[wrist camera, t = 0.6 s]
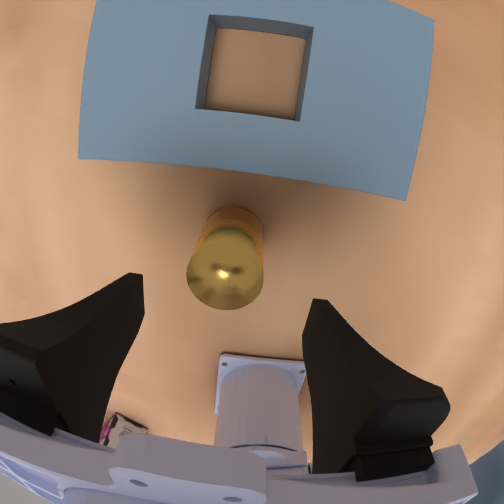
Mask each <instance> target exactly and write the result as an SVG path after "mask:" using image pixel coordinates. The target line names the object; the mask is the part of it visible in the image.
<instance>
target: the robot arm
mask: <svg viewBox="0 0 504 504" xmlns="http://www.w3.org/2000/svg"><path fill="white" fill-rule="evenodd" d="M144 314H145V310H144V293H143V275H142V274H136V273H128V274H126V275H124V276H122V277H120V278H119V279H117V280H115V281H114V282H112V283H111V284H109V285H107V286H106V287H104V288H102V289H101V290H99V291H97V292H95V293H94V294H92V295H90V296H88V297H86V298H84V299H83V300H81V301H79V302H77V303H75V304H72V305H70V306H68V307H65V308H63V309H61V310H58V311H55V312H52V313H49V314H46V315H43V316H40V317H36V318H32V319H27V320H23V321H17V322H10V323H2V324H0V472H1V473H3V474H4V475H6V476H7V477H9V478H10V479H12V480H13V481H15V482H17V483H18V484H20V485H22V486H23V487H25V488H27V489H28V490H30V491H32V492H33V493H35V494H37V495H39V496H41V497H42V498H44V499H46V500H48V501H50V502H52V503H54V504H464V503H465V502H467V501H468V500H470V499H471V498H473V497H474V496H476V495H477V494H478V490H477V487H476V484H475V482H474V479H473V476H472V473H471V470H470V468H469V465H468V462H467V460H466V457H465V455H464V452H463V450H462V447H461V445H459V444H458V445H454V446H450V447H446V448H442V449H439V450H436V451H435V452H433V453H432V452H431V449H430V446H432V445H433V440H432V437H431V435H432V434H433V433H434V432H435V431H436V430H437V429H438V427H439V426H440V425H441V424H442V423H443V422H444V420H445V419H446V418H447V416H448V414H449V412H450V403H449V401H448V399H447V397H446V395H445V393H444V391H443V389H442V388H441V387H439V386H436V385H434V384H432V383H429V382H427V381H425V380H422V379H420V378H418V377H416V376H414V375H413V374H411V373H409V372H407V371H405V370H404V369H402V368H400V367H399V366H397V365H396V364H394V363H393V362H391V361H390V360H388V359H387V358H385V357H384V356H383V355H382V354H380V353H379V352H378V351H377V350H375V349H374V348H373V347H372V346H371V345H369V344H368V343H367V342H366V341H365V340H364V339H363V338H362V337H361V336H360V335H359V334H358V333H357V332H356V331H355V330H354V329H353V328H352V327H351V326H350V325H349V324H348V323H347V321H346V320H345V319H344V318H343V317H342V316H341V315H340V314H339V312H338V311H337V310H336V309H335V308H334V307H333V306H332V305H331V303H330V302H329V301H328V300H323V299H315V298H313V301H312V304H311V308H310V311H309V315H308V318H307V321H306V325H305V328H304V331H303V334H302V346H303V358H304V361H291V360H279V359H268V358H258V357H249V356H240V355H232V354H221V355H220V358H219V368H218V378H217V389H216V399H215V410H214V413H215V414H216V415H217V422H216V430H215V439H214V446H212V445H205V444H199V443H192V442H186V441H181V440H175V439H170V438H165V437H160V436H156V435H151V434H144V433H135V432H133V433H130V434H126V435H123V436H120V438H119V441H118V444H117V447H116V449H114V448H111V447H108V446H105V445H101V444H99V439H100V434H101V429H102V425H103V421H104V417H105V413H106V409H107V405H108V402H109V398H110V395H111V392H112V389H113V386H114V383H115V380H116V377H117V375H118V372H119V370H120V368H121V366H122V364H123V362H124V360H125V358H126V356H127V354H128V352H129V350H130V348H131V346H132V344H133V342H134V340H135V338H136V336H137V334H138V332H139V329H140V326H141V323H142V320H143V317H144ZM223 362H226V363H223ZM306 375H307V380H308V385H309V391H310V396H311V404H312V421H313V462H311V463H308V467H307V455H306V452H305V451H303V443H302V432H301V422H300V411H299V401H298V395H299V393H300V390H301V388H302V385H303V383H304V380H305V377H306Z"/></svg>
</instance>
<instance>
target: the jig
mask: <svg viewBox="0 0 504 504" xmlns="http://www.w3.org/2000/svg"><path fill="white" fill-rule="evenodd" d="M216 28H228V29H241V30H251V31H260V32H267V33H275V34H281V35H288V36H294V37H299V38H304V39H306V43H305V50H304V57H303V64H302V70H301V77H300V84H299V90H298V97H297V103H296V109H295V116H294V120H288V119H282V118H276V117H269V116H262V115H255V114H247V113H238V112H229V111H219V110H208V109H205V101H206V93H207V85H208V78H209V71H210V64H211V57H212V51H213V45H214V38H215V32H216ZM433 37H434V20H433V19H431V18H429V17H427V16H425V15H422V14H420V13H418V12H415V11H413V10H411V9H408V8H406V7H403V6H401V5H398V4H395V3H393V2H390V1H387V0H97V1H96V6H95V10H94V15H93V19H92V24H91V29H90V35H89V40H88V46H87V53H86V60H85V67H84V75H83V84H82V94H81V106H80V122H79V153H78V159H92V160H116V161H134V162H149V163H162V164H174V165H185V166H196V167H205V168H215V169H223V170H232V171H240V172H247V173H255V174H262V175H269V176H276V177H282V178H289V179H295V180H301V181H307V182H313V183H319V184H325V185H330V186H335V187H341V188H346V189H351V190H356V191H361V192H366V193H371V194H376V195H380V196H385V197H389V198H394V199H398V200H403V201H406V197H407V193H408V189H409V185H410V181H411V177H412V173H413V168H414V164H415V160H416V155H417V150H418V146H419V141H420V136H421V130H422V125H423V119H424V113H425V107H426V101H427V94H428V87H429V79H430V71H431V61H432V50H433Z"/></svg>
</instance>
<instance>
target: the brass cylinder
mask: <svg viewBox="0 0 504 504" xmlns="http://www.w3.org/2000/svg"><path fill="white" fill-rule="evenodd" d="M187 282H188V285H189V287H190V289H191V291H192V293H193V294H194V295H195V296H196V298H198V299H199V300H200V301H201V302H203V303H204V304H206V305H208V306H210V307H213V308H216V309H221V310H234V309H238V308H242V307H244V306H246V305H248V304H249V303H251V302H252V301H253V300H254V299H255V298H256V297H257V296H258V295H259V293H260V291H261V289H262V286H263V235H262V227H261V224H260V222H259V220H258V219H257V218H256V217H255V215H254V214H252V213H251V212H250V211H248V210H246V209H244V208H241V207H234V206H232V207H225V208H222V209H219V210H218V211H216V212H215V213H213V214H212V215H211V216H210V218H209V219H208V221H207V223H206V225H205V227H204V230H203V232H202V234H201V236H200V239H199V241H198V243H197V246H196V248H195V250H194V253H193V255H192V257H191V260H190V262H189V264H188V267H187Z"/></svg>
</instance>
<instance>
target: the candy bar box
mask: <svg viewBox="0 0 504 504" xmlns="http://www.w3.org/2000/svg"><path fill="white" fill-rule="evenodd" d="M147 431H148V429H146V428H144V427H142V426H140V425H139V424H137V423H135V422H133V421H131V420H129V419H127V418H125V417H124V416H122V415H120V414H118V413H115V415H114V416H113V417H112V418H111V419H110V421H109V422H108V423H107V424H106V425H105V426H104V428H103V429H102V430H101V434H100V439H99V444H101V445H105V446H108V447H111V448H114V449H116V447H117V444H118V441H119V438H120V436H123V435H126V434H130V433H133V432H135V433H144V434H147Z"/></svg>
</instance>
